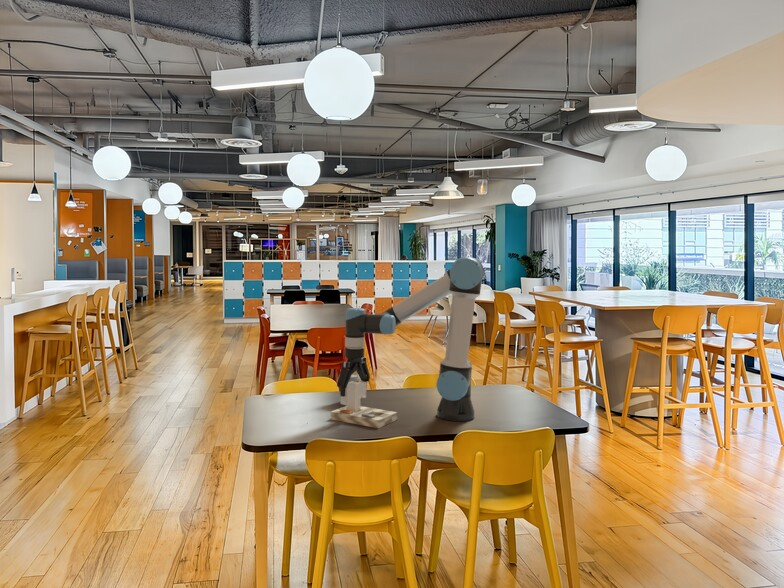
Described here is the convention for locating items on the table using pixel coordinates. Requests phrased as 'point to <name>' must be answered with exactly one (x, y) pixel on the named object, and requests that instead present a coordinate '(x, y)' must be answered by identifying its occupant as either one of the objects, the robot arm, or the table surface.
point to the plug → (354, 396)
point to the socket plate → (365, 416)
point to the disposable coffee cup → (353, 378)
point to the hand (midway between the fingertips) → (353, 400)
